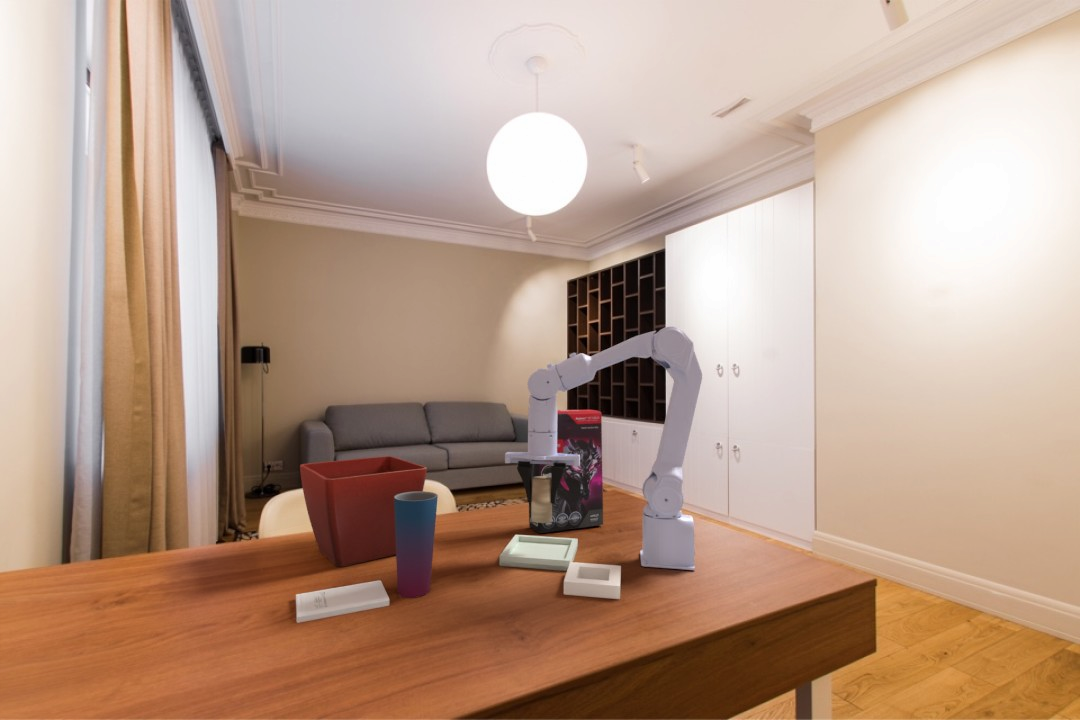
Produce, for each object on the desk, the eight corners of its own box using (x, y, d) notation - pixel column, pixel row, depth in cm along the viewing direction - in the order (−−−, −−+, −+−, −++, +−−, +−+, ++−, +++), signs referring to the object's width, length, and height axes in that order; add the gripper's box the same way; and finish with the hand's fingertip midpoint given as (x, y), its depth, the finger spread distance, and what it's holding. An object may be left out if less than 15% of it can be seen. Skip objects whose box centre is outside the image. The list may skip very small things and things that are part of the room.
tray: (577, 547, 100) (577, 538, 100) (570, 571, 87) (570, 560, 88) (515, 543, 103) (515, 534, 103) (499, 565, 90) (499, 555, 90)
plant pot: (322, 579, 83) (326, 478, 84) (295, 548, 98) (298, 463, 99) (427, 555, 95) (429, 467, 96) (388, 531, 110) (390, 455, 111)
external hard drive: (389, 609, 73) (296, 627, 68) (379, 589, 80) (295, 603, 75) (389, 598, 73) (296, 615, 68) (380, 579, 81) (295, 592, 75)
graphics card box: (537, 535, 108) (539, 411, 110) (525, 527, 114) (527, 409, 116) (604, 527, 115) (604, 410, 117) (589, 519, 122) (589, 409, 123)
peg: (552, 517, 97) (553, 476, 97) (550, 523, 93) (551, 480, 93) (532, 516, 97) (533, 475, 98) (529, 522, 93) (530, 479, 94)
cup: (424, 602, 74) (426, 501, 75) (383, 598, 76) (386, 499, 76) (442, 584, 81) (444, 492, 82) (404, 580, 82) (406, 490, 83)
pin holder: (620, 577, 85) (620, 565, 85) (619, 599, 76) (619, 586, 76) (570, 573, 86) (570, 561, 86) (563, 594, 78) (563, 581, 78)
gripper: (501, 432, 93) (500, 504, 93) (577, 434, 91) (577, 508, 90) (510, 428, 100) (509, 496, 100) (581, 430, 98) (580, 500, 97)
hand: (541, 501), depth 95 cm, fingers closed on peg, 4 cm apart
